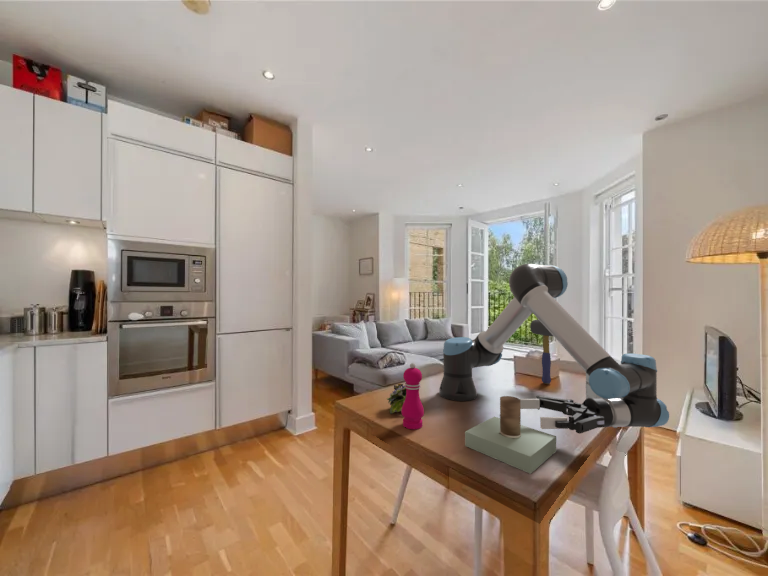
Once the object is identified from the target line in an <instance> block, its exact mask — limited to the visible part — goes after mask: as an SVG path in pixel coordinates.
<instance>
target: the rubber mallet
mask: <svg viewBox="0 0 768 576" xmlns="http://www.w3.org/2000/svg"><path fill="white" fill-rule="evenodd" d="M529 328H530V331H531V333H532V334H535V335H539V336H542V337H543V340H542V343H543V346H542V355H541V367H542V373H541V374H542V376H541V382H542V383H543V384H545V385H550V384H551V382H552V378H551V365H552V359H551V358H552V357H551V353H550V337H554V336H553V335H552V334H551V333H550V332H549V330H548V329H547V328H546V327H545V326H544V325H543V324H542V323H541V322H540V320H539V319H533V320H532V321H531V323H530V327H529Z"/></svg>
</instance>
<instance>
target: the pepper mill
mask: <svg viewBox="0 0 768 576" xmlns="http://www.w3.org/2000/svg"><path fill="white" fill-rule="evenodd" d="M422 379H423V374H422V371H421V370H420V369H418V368H416V363H414V362H411V363H410V364H409V367H408V368H406V369H405V370H404V372H403V381H405V383H404V385H405V388H406V398H405V401H404V403H403V406H402V410H401V411H400V412H401V415H402V417H403V419H402V426H403V427H404V428H405V427H406V428H405V429H408V430H419V429H421V428H422V427H423V419H422V418H423V417H424V416H425V415H424V414H425V410H424V406H423V403H422V401H421V398H420V389H421V381H422Z"/></svg>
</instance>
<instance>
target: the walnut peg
mask: <svg viewBox="0 0 768 576" xmlns="http://www.w3.org/2000/svg"><path fill="white" fill-rule="evenodd" d="M499 398H500V399H499V418H500V434H501V435H502V436H504V437H507V438H512V439H515V438H520V437H521V425H522V424H521V422H522V421H521V410H522V409H521V405H520V399H521V398H518V397H515V396H511V395H504V396H500V397H499Z"/></svg>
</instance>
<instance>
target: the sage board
mask: <svg viewBox="0 0 768 576" xmlns="http://www.w3.org/2000/svg"><path fill="white" fill-rule="evenodd" d="M464 446H465V447H466V448H469V449H471V450H474V451H476V452H477V453H481V454H483V455H486V456H488V457H490V458H492V459H495V460H497V461H500V462H502V463H503V464H507V465H509V466H512V467H513V468H516V469H518V470H521V471H523V472H525V473H528V474H530V475H531V474H532V473H534V471H535V470H537V469H538V468H539V467H540V466H541V465H543V464H544V462H546V461H547V460H548V459H549V458H550V457H551V456H553V455H552V454H555V453H556V452H557V436H556V435H553V434H550V433H548V432H544V431H542V430H539V429H538V430H537V429H535V428H531V427H528V426H526V425H522V424H521V437H520V438H515V439H512V438H507V437H504V436H502V435H501V434H500V417H497V416H492V417H491V418H489V419H487V420H485V421H483V422H481V423H479V424H477V425H475V426H473V427H471V428H469V429H467V430H466V431H465V432H464Z"/></svg>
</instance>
